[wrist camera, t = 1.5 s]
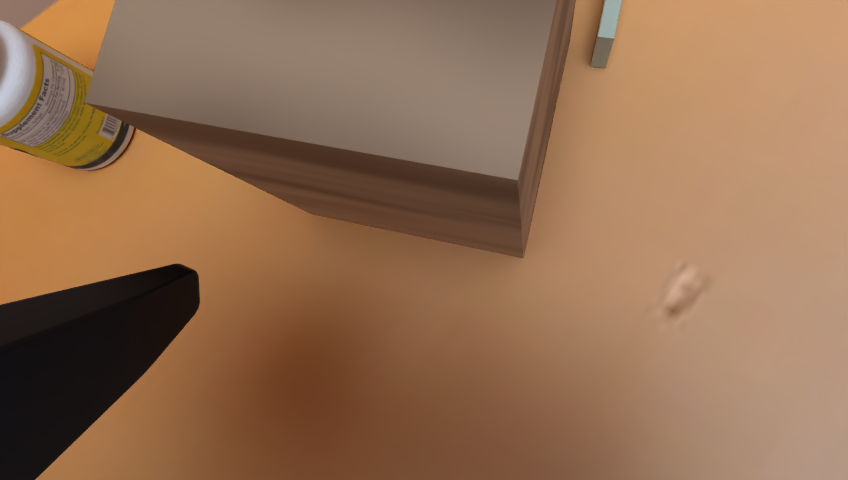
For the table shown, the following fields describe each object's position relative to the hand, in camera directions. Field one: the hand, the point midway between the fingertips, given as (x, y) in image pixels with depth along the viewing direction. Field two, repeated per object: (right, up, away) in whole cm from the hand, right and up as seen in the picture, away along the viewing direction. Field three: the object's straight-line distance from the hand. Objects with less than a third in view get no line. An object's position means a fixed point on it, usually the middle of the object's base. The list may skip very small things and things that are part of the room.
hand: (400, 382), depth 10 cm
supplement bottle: (-16, +8, +18) cm, 25 cm away
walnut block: (+1, +7, +14) cm, 16 cm away
